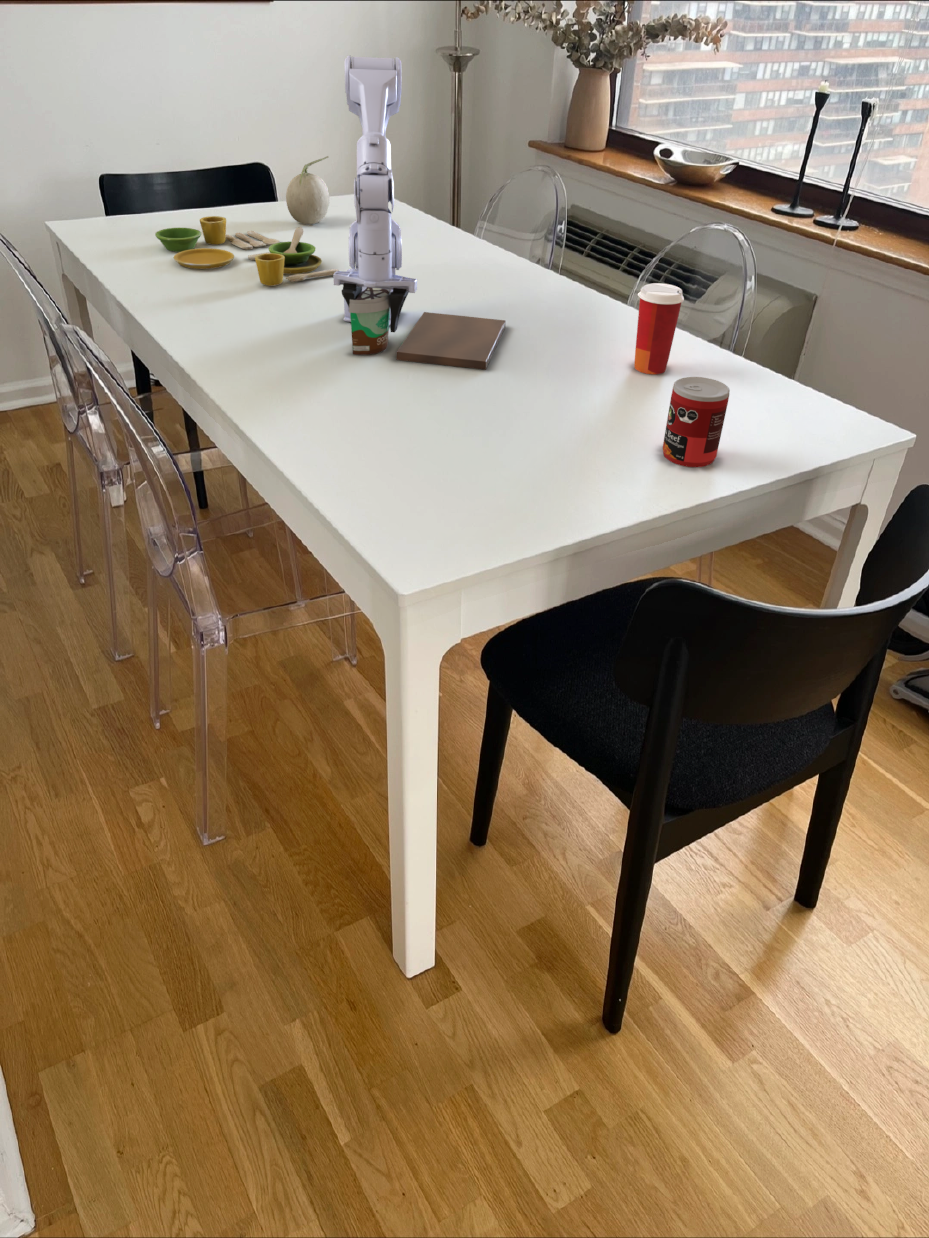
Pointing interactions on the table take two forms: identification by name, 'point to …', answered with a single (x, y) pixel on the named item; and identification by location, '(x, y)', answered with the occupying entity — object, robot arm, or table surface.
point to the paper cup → (656, 326)
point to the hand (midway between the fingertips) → (375, 328)
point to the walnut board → (452, 340)
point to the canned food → (695, 421)
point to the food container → (370, 321)
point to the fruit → (307, 197)
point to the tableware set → (269, 264)
